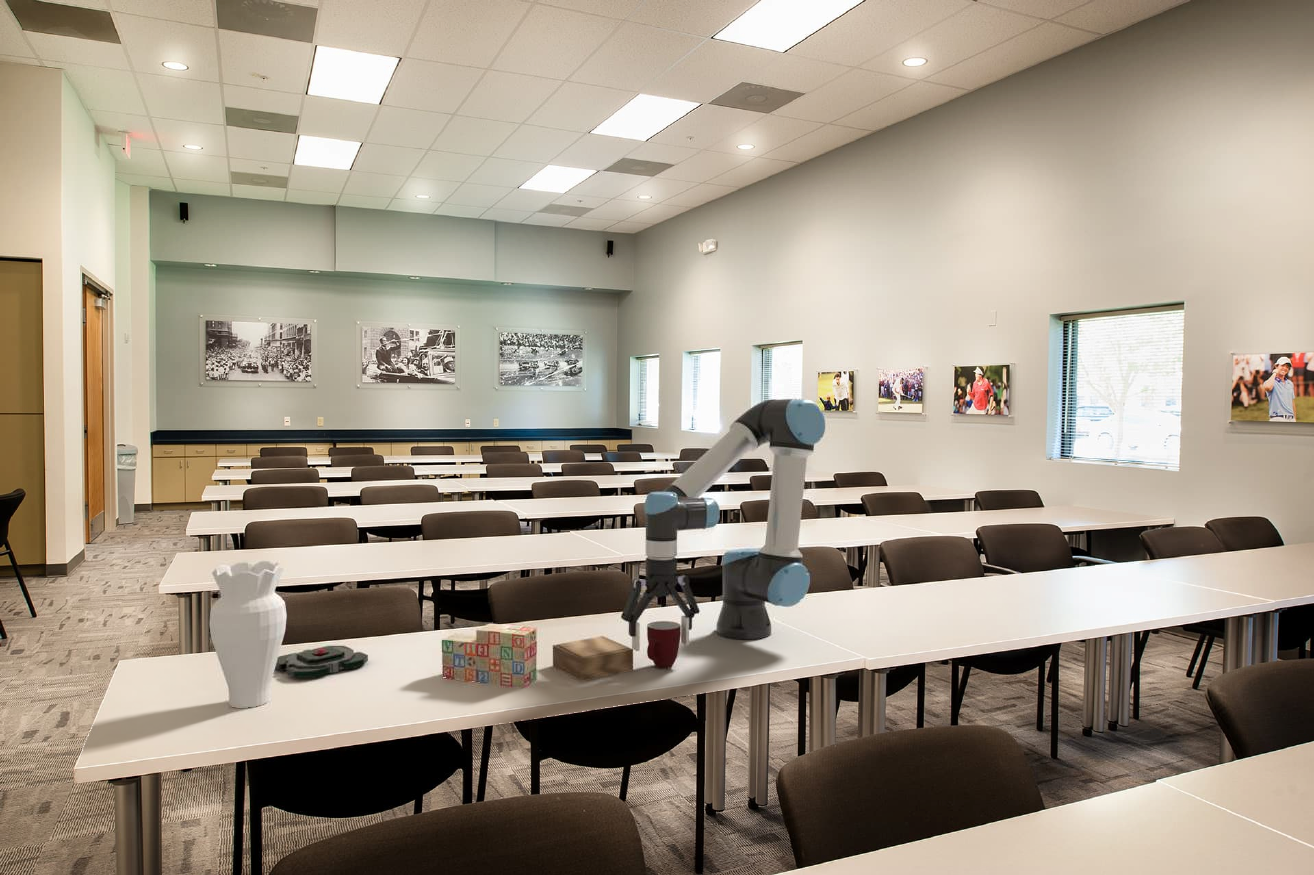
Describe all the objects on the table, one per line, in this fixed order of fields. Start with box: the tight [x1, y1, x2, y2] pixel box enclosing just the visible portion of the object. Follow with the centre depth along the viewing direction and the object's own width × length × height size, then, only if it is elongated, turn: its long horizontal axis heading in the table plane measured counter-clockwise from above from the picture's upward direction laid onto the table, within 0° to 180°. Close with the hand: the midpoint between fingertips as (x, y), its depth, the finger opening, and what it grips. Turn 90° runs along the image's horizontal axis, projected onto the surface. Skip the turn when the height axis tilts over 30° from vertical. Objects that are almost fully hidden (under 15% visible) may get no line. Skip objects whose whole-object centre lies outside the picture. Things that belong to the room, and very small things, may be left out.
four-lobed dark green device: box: [275, 645, 369, 678], centre depth 203 cm, size 18×18×5 cm
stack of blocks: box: [441, 623, 538, 689], centre depth 194 cm, size 21×6×12 cm, turn 72°
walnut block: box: [552, 635, 634, 682], centre depth 202 cm, size 14×14×5 cm
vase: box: [208, 560, 288, 709], centre depth 178 cm, size 15×15×29 cm
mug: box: [646, 620, 681, 670], centre depth 202 cm, size 11×8×10 cm
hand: (660, 646), depth 202 cm, fingers open, 12 cm apart
